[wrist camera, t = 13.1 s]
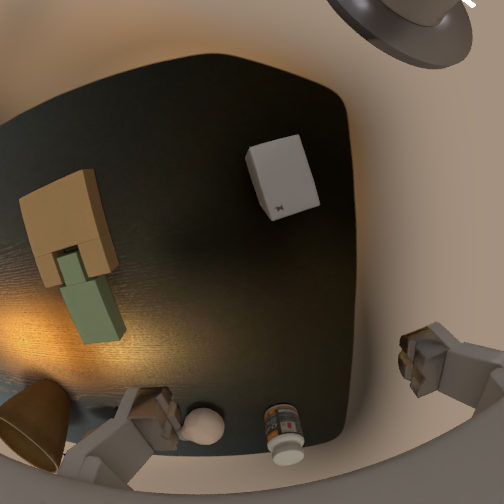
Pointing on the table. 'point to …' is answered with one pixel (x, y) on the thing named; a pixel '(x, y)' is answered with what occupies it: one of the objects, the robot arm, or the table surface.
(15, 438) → the plant pot
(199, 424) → the light bulb
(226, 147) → the table surface
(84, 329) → the sage pad
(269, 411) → the pill bottle
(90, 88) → the table surface
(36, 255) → the sand pad
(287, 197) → the cosmetic box
